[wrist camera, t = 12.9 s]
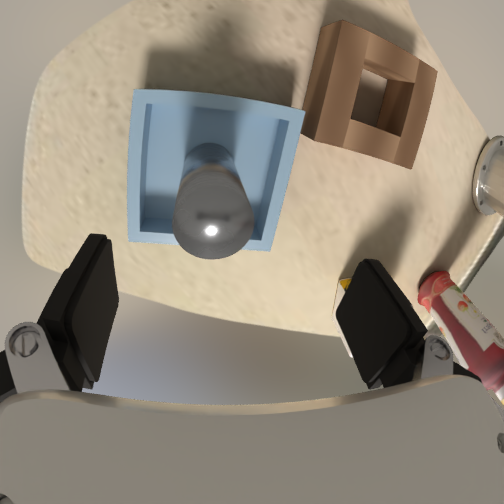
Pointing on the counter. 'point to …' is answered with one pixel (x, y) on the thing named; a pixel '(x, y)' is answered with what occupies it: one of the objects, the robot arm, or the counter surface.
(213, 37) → the counter surface
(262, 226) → the tray
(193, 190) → the peg
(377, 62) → the hole block
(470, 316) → the liquor
